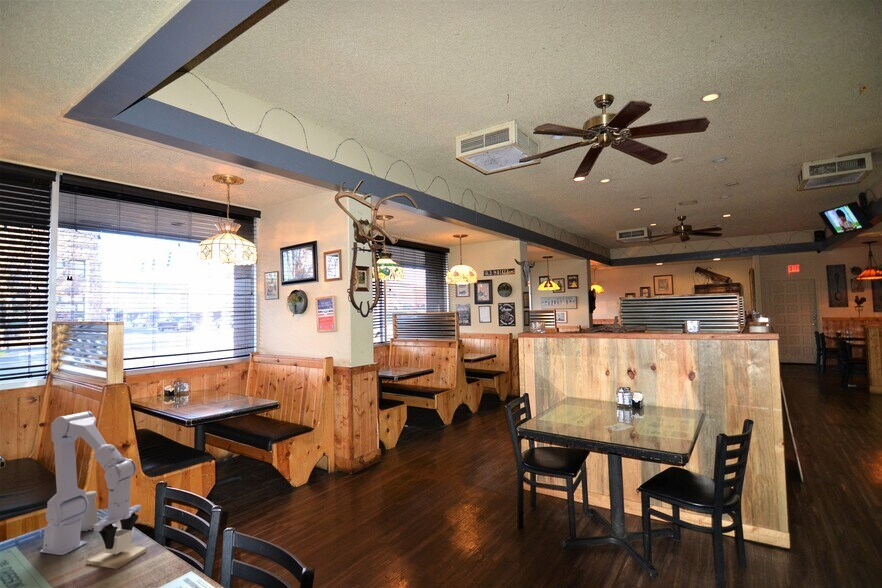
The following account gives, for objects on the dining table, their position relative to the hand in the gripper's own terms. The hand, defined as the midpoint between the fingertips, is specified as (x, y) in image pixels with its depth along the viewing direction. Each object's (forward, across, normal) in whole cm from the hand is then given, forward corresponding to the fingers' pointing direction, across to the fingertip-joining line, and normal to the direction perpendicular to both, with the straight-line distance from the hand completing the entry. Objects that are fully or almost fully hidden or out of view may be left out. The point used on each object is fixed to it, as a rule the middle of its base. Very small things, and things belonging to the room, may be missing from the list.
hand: (117, 544), depth 138 cm
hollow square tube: (+2, 0, 0) cm, 2 cm away
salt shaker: (+4, +13, +28) cm, 31 cm away
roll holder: (+4, 0, 0) cm, 4 cm away
